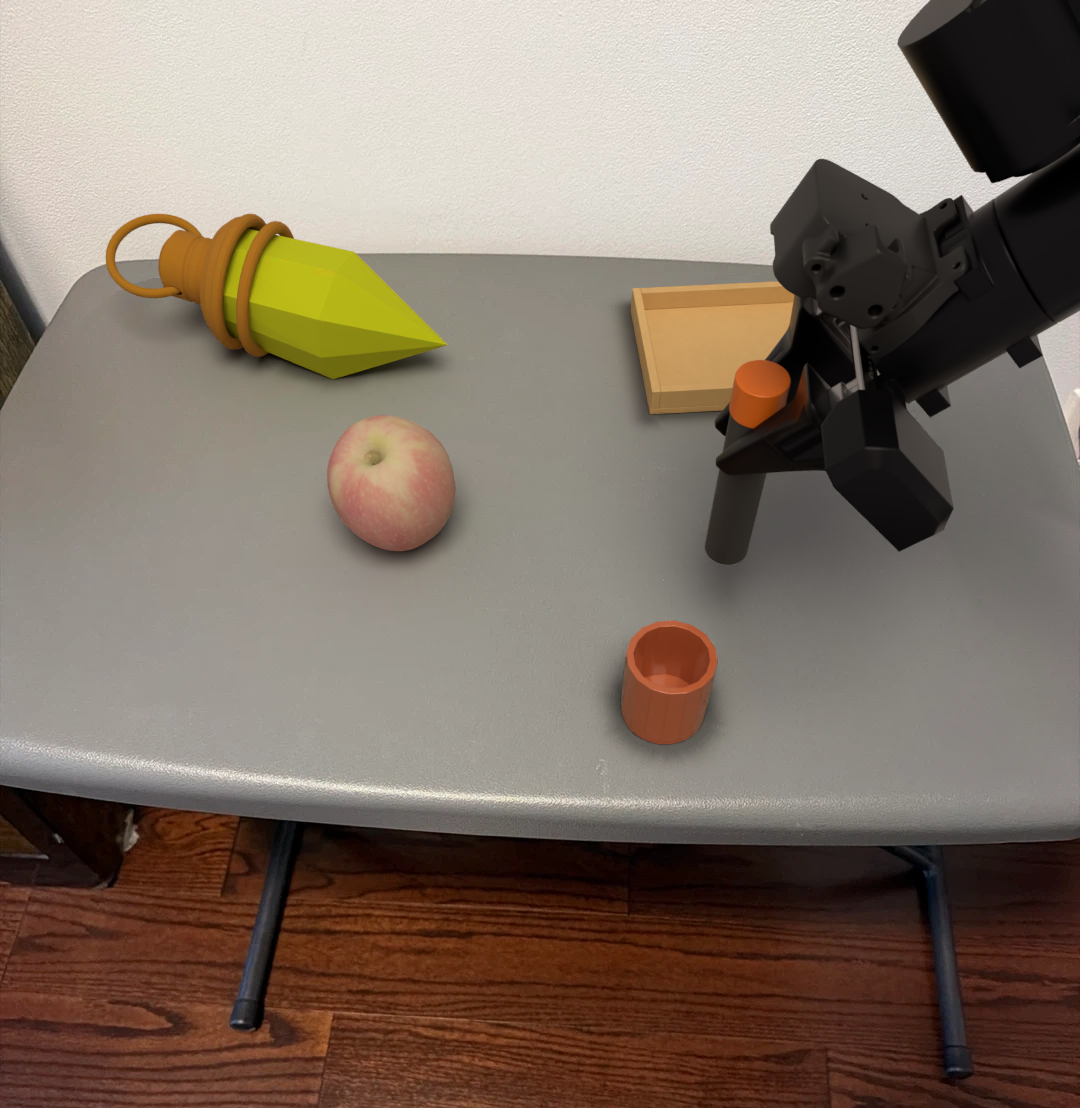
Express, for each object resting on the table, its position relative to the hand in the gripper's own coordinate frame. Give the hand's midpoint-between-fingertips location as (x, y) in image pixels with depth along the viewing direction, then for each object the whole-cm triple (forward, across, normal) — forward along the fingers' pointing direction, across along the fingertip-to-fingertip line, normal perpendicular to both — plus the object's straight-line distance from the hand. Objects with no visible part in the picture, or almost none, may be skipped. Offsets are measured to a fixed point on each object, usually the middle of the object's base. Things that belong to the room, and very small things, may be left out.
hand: (719, 448), depth 54 cm
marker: (+4, 0, +6) cm, 8 cm away
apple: (+23, -6, -3) cm, 24 cm away
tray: (+7, -24, +12) cm, 28 cm away
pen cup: (+11, +7, +8) cm, 15 cm away
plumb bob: (+30, -23, -11) cm, 39 cm away
